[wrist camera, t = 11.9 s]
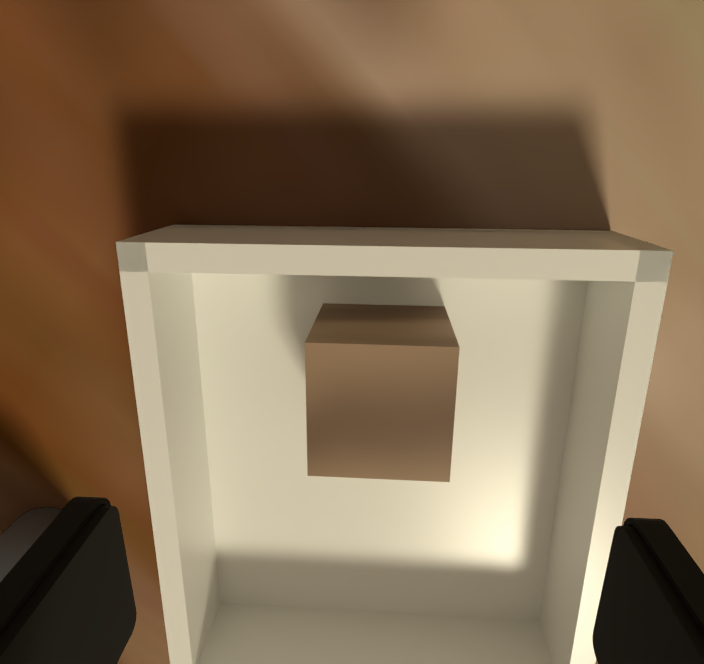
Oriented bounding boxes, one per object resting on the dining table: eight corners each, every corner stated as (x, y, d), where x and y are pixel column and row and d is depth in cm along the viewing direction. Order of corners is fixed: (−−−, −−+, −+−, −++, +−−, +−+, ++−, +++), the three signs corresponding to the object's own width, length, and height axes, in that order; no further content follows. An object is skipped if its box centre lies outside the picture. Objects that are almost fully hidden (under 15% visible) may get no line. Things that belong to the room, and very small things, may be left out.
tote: (172, 224, 23) (115, 241, 18) (611, 230, 22) (673, 250, 17) (209, 602, 29) (173, 689, 24) (551, 622, 28) (584, 718, 23)
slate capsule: (2, 505, 28) (-119, 613, 21) (95, 509, 28) (2, 621, 21) (20, 583, 29) (-88, 707, 23) (109, 588, 29) (25, 715, 22)
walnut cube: (323, 303, 22) (305, 342, 18) (444, 306, 22) (459, 347, 17) (324, 412, 24) (307, 475, 19) (437, 416, 24) (449, 482, 19)
